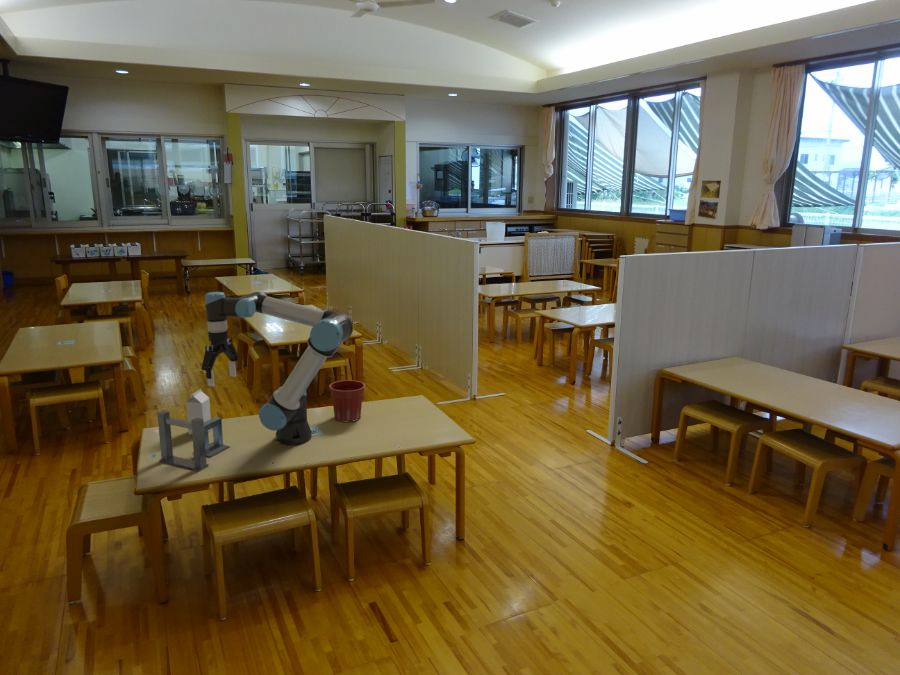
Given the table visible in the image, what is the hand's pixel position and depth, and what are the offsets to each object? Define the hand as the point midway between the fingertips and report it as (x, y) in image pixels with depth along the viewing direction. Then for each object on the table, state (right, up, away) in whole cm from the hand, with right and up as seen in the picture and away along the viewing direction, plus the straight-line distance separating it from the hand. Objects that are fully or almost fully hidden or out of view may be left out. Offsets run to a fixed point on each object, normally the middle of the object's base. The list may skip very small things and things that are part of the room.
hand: (222, 381), depth 264 cm
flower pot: (+45, -20, +40) cm, 63 cm away
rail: (-11, -31, -13) cm, 36 cm away
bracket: (-4, -28, 0) cm, 28 cm away
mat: (-4, -28, 0) cm, 29 cm away
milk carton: (-16, -24, +18) cm, 34 cm away
